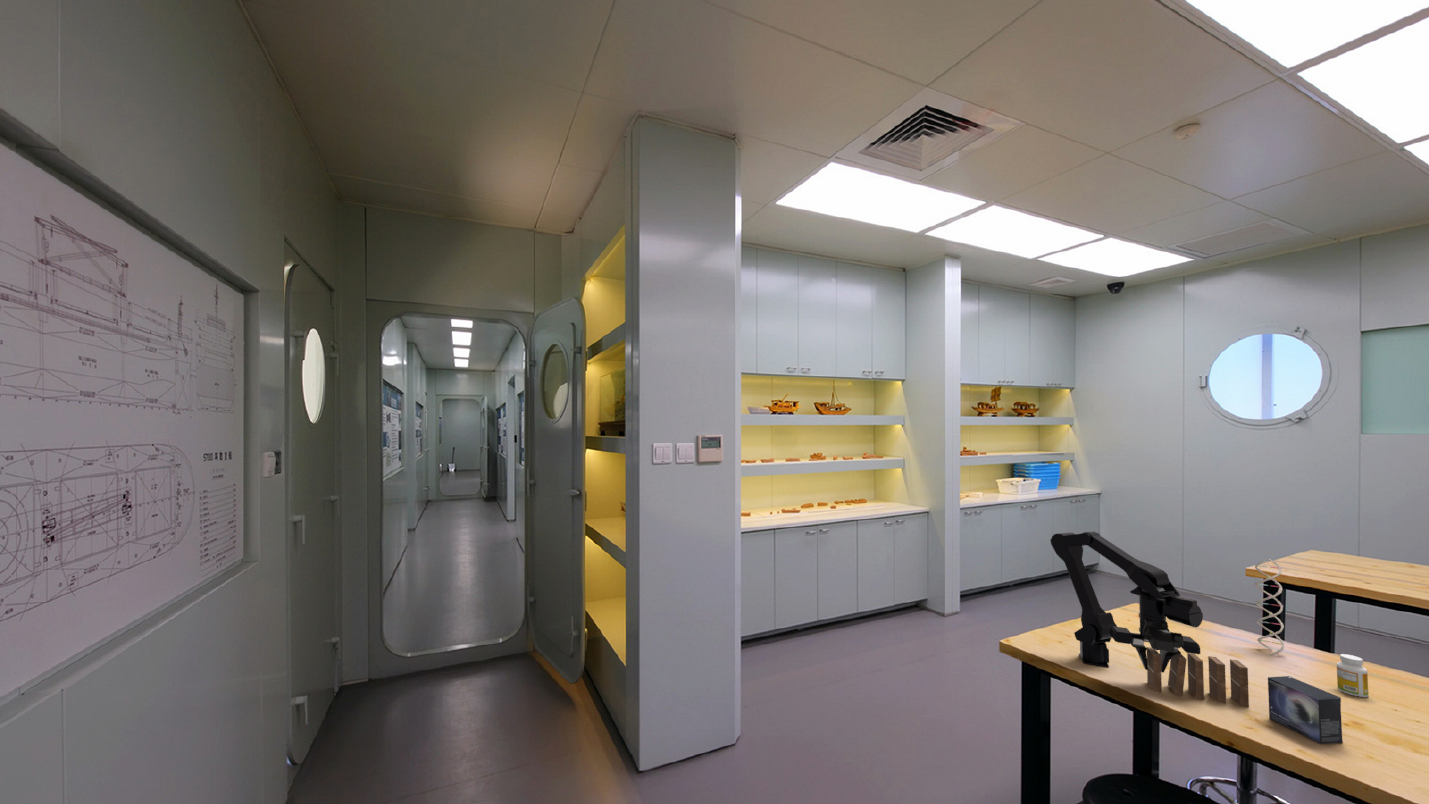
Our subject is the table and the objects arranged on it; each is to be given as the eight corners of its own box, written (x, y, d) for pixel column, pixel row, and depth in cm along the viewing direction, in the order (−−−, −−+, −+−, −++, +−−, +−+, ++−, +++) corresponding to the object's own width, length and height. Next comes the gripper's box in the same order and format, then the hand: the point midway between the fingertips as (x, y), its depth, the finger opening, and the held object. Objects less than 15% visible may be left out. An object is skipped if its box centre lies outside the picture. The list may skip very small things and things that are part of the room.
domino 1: (1154, 690, 142) (1153, 654, 143) (1147, 682, 147) (1146, 646, 147) (1161, 692, 142) (1160, 655, 142) (1154, 683, 146) (1153, 648, 147)
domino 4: (1218, 702, 137) (1217, 663, 137) (1209, 693, 142) (1208, 655, 142) (1226, 703, 136) (1225, 664, 137) (1217, 694, 141) (1216, 657, 141)
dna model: (1284, 659, 163) (1281, 563, 165) (1255, 652, 168) (1252, 558, 170) (1286, 653, 167) (1283, 559, 169) (1258, 646, 172) (1254, 555, 174)
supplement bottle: (1357, 689, 144) (1356, 654, 145) (1374, 699, 139) (1373, 662, 140) (1332, 686, 146) (1330, 651, 146) (1347, 695, 141) (1346, 659, 141)
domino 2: (1175, 693, 141) (1178, 657, 141) (1167, 685, 145) (1171, 650, 145) (1182, 695, 140) (1186, 659, 140) (1175, 687, 145) (1178, 651, 145)
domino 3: (1196, 698, 139) (1195, 660, 139) (1188, 689, 143) (1187, 652, 144) (1204, 699, 138) (1203, 661, 139) (1195, 690, 143) (1194, 654, 143)
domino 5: (1240, 705, 135) (1239, 666, 136) (1231, 696, 140) (1229, 659, 140) (1249, 707, 135) (1247, 668, 135) (1239, 698, 139) (1237, 660, 140)
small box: (1266, 718, 129) (1265, 675, 130) (1290, 717, 130) (1288, 675, 130) (1319, 744, 119) (1317, 698, 119) (1344, 743, 119) (1342, 697, 120)
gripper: (1120, 618, 142) (1122, 676, 141) (1209, 630, 134) (1211, 691, 134) (1108, 605, 152) (1110, 659, 151) (1190, 615, 144) (1192, 672, 144)
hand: (1154, 670), depth 145 cm, fingers open, 3 cm apart
